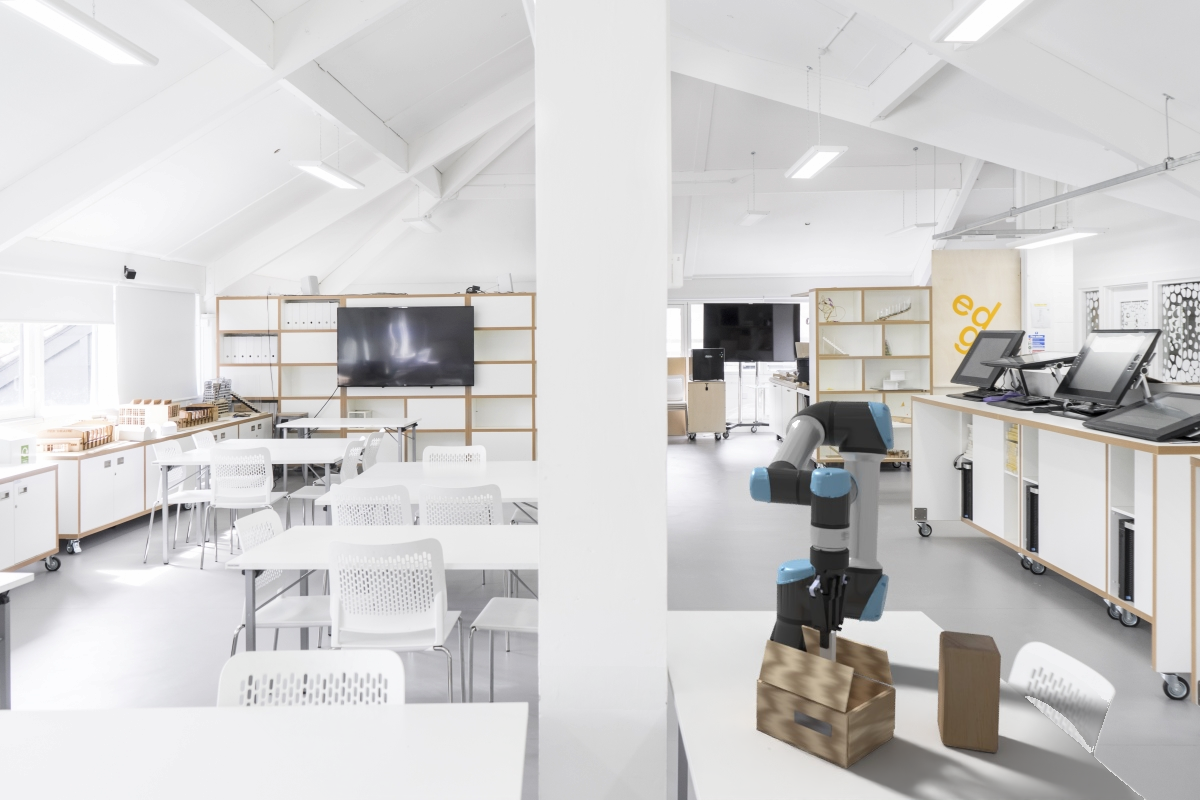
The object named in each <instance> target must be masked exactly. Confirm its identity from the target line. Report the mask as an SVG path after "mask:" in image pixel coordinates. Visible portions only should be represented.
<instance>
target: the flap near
mask: <svg viewBox="0 0 1200 800" xmlns="http://www.w3.org/2000/svg"><path fill="white" fill-rule="evenodd" d="M853 672H854V668H851V667H848V666H845V665H842V664H839V663H836V662H833V661H830V660H827V659H824V658H822V657H819V656H816V655H813V654H810V653H807V652H804V651H801V650H798V649H795V648H792V647H789V646H786V645H783V644H780V643H777V642H774V641H771V640H770V639H766V645H765V649H764V653H763V658H762V661H761V666H760V671H759V675H758V679H759V680H762V681H764V682H767V683H769V684H772V685H775V686H777V687H780V688H782V689H785V690H788V691H790V692H793V693H795V694H798V695H801V696H803V697H806V698H808V699H811V700H814V701H816V702H819V703H821V704H824V705H827V706H829V707H832V708H834V709H837V710H840V711H842V712H846V707H847V702H848V697H849V692H850V687H851V682H852V677H853V674H854V673H853Z"/></svg>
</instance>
